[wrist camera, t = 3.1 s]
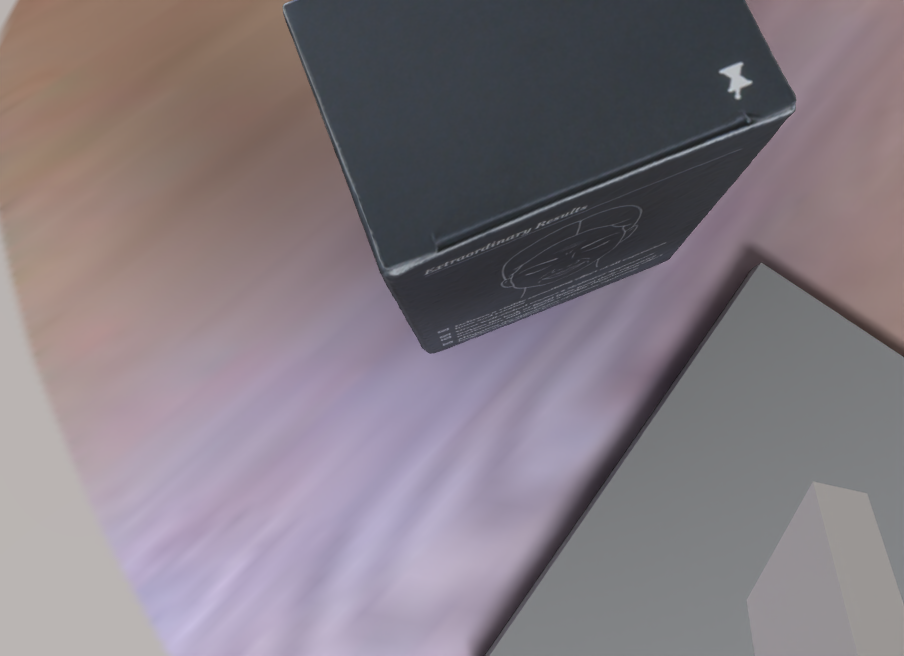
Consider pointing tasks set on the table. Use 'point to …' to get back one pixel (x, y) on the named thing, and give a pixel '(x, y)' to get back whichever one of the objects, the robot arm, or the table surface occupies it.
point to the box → (533, 140)
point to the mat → (724, 483)
